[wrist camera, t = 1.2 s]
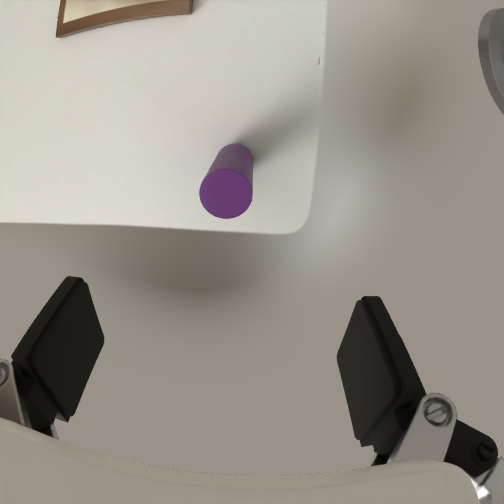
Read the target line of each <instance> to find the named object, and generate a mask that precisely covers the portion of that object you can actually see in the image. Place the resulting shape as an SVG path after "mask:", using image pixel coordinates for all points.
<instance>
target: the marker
mask: <svg viewBox="0 0 504 504" xmlns="http://www.w3.org/2000/svg"><path fill="white" fill-rule="evenodd" d="M252 193H253V158H252V155H251V153H250V151H249V150H248V149H247V148H246V147H244V146H242V145H239V144H230V145H227V146H225V147H224V148H222V149H221V150H220V152H219V153H218V155H217V157H216V159H215V160H214V162H213V164H212V166H211V167H210V169H209V171H208V173H207V174H206V176H205V178H204V180H203V182H202V184H201V186H200V192H199V195H200V200H201V203H202V205H203V207H204V208H205V209H206V210H207V211H208V212H209V213H210V214H212V215H213V216H215V217H218V218H223V219H230V218H235V217H237V216H239V215H241V214H243V213H244V212H245V211H246V210H247V209H248V207H249V206H250V204H251V201H252Z"/></svg>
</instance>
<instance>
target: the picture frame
mask: <svg viewBox="0 0 504 504" xmlns="http://www.w3.org/2000/svg"><path fill="white" fill-rule="evenodd" d="M191 8H192V0H61V1H60V7H59V14H58V21H57V30H56V37H57V38H63V37H66V36H69V35H73V34H76V33H79V32H83V31H87V30H91V29H95V28H99V27H103V26H108V25H112V24H117V23H122V22H128V21H133V20H139V19H146V18H153V17H162V16H171V15H183V14H191Z"/></svg>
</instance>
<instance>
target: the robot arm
mask: <svg viewBox="0 0 504 504" xmlns="http://www.w3.org/2000/svg"><path fill="white" fill-rule="evenodd" d="M103 344H104V335H103V332H102V329H101V326H100V323H99V320H98V317H97V314H96V311H95V308H94V305H93V301H92V298H91V294H90V291H89V287H88V284H87V283H86V282H84V280H83V279H82V278H80V277H71V276H68V277H66V278H65V279H64V281H63V282H62V283H61V284H60V286H59V287H58V289H57V290H56V291H55V292H54V294H53V295H52V296H51V298H50V299H49V300H48V302H47V303H46V305H45V306H44V307H43V309H42V310H41V312H40V313H39V315H38V316H37V317H36V319H35V320H34V322H33V323H32V324H31V326H30V327H29V329H28V330H27V332H26V334H25V335H24V336H23V338H22V340H21V341H20V343H19V344H18V346H17V348H16V349H15V351H14V352H13V354H12V356H11V357H12V359H13V361H12V363H10V362H9V361H8V360H6V359H2V358H0V504H504V459H503V458H502V457H500V458H499V459H498V458H497V456H498V450H497V446H496V444H495V442H494V441H493V439H491V438H490V437H489V436H487V435H485V434H483V433H481V432H480V431H478V430H475V429H474V428H472V427H470V426H468V425H467V424H465V423H463V422H461V421H459V420H457V411H456V407H455V406H454V404H453V402H452V401H451V400H450V399H449V398H448V397H446V396H445V395H443V394H440V393H430V394H427V395H426V392H425V390H424V387H423V385H422V383H421V381H420V378H419V376H418V374H417V371H416V369H415V367H414V365H413V362H412V360H411V358H410V355H409V353H408V351H407V349H406V347H405V345H404V343H403V341H402V338H401V337H400V335H399V334H398V332H397V330H396V327H395V326H394V323H393V321H392V319H391V317H390V315H389V313H388V311H387V309H386V307H385V306H384V304H383V302H382V300H381V298H380V297H378V296H364V297H362V299H361V300H358V301H357V302H356V305H355V308H354V311H353V313H352V316H351V319H350V322H349V324H348V327H347V330H346V332H345V335H344V337H343V340H342V343H341V345H340V348H339V350H338V353H337V362H338V366H339V371H340V375H341V379H342V383H343V386H344V391H345V395H346V399H347V403H348V408H349V412H350V417H351V421H352V426H353V430H354V435H355V438H356V439H357V440H360V443H361V447H364V446H370V445H373V447H374V452H375V454H374V456H373V457H372V459H371V461H370V462H369V464H368V465H367V467H366V468H359V469H352V470H345V471H337V472H327V473H317V474H305V475H289V476H288V475H286V476H239V475H221V474H208V473H198V472H189V471H182V470H175V469H168V468H162V467H157V466H151V465H146V464H141V463H137V462H132V461H128V460H123V459H119V458H115V457H111V456H108V455H104V454H101V453H97V452H94V451H90V450H87V449H84V448H81V447H78V446H75V445H72V444H69V443H66V442H64V441H61V440H59V437H58V435H57V432H56V429H55V426H54V423H53V422H54V420H55V418H56V419H59V420H62V421H65V422H68V421H69V419H70V416H73V415H74V414H75V412H76V409H77V406H78V404H79V401H80V399H81V396H82V394H83V391H84V389H85V386H86V384H87V381H88V379H89V377H90V374H91V372H92V369H93V367H94V365H95V362H96V360H97V358H98V356H99V353H100V351H101V349H102V347H103Z"/></svg>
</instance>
